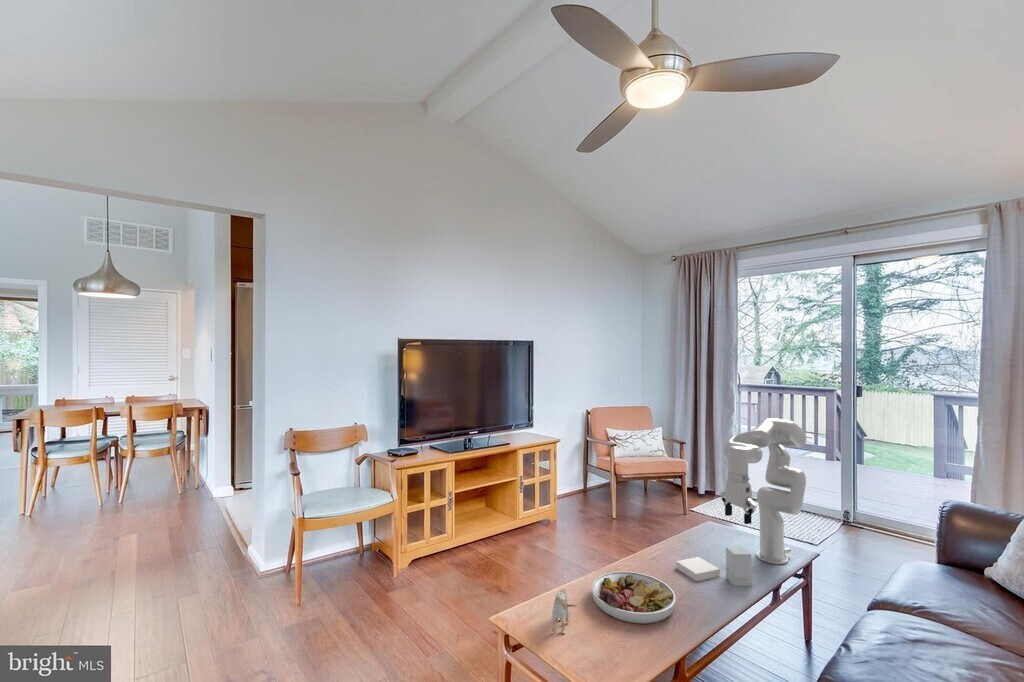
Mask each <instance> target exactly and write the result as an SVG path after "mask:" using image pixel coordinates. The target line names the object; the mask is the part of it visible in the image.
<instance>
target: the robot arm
mask: <svg viewBox="0 0 1024 682" xmlns="http://www.w3.org/2000/svg"><path fill="white" fill-rule="evenodd" d="M806 434H807V433H806V432H805V430H803V428H802V427H801V426H799V424H797V423H796V422H794V421H792V420H790V419H783V418H775V417H774V418H773V417H768V418H764V419H763V420H762V421H760V423H759V424H758V425H756V427H755V428H753V429H752V430H748V431H744V432H741V433H738V434H735V435H733V436H731V438H730V439H729V440H727V442H726V444H725V446H724V448H723V449H724V450H723V451H724V455H725V457H726V458H727V478H726V482H725V487H724V488H725V489H724V491H722V492H720V497H721V500H722V502H723V505H724V515H725V516H726V517H728V516H732V515H733V505H734V506H736V507H739V508H742V509H743V512H744V514H743V524H744V525H750V524H752V515H753V514H754V512H755V511H756V509H757V507H758V509H759V510H758V512H759V513H758V514H759V550H757V551H755V555H756V556H755V557H756V558H757V559H759V560H760V561H763V562H765V563H767V564H774V565H785V564H788V562H789V558H788V557H787V556H786V555H787V554H789V553H791V552H792V549H791V548H790V547H786V548H785V541H784V540H785V536H784V535H785V534H784V533H785V531H784V530H785V529H784V528H785V526H784V525H785V523H784V518H783V516H782V514H781V513H784V514H789V515H793V516H796V515H799V514H800V513H801V511H802V507H803V502H804V498H805V497H804V496H805V492H806V484H807V477H806V474H805V472H804V471H803V470H801V469H799V468H795V467H791V466H790V464H791V463H790V462H791V455H790V453H789V452H788V450H787V448H786V447H791V448H803V447H804V446H805V445H806V442H807V435H806ZM763 448H768V453H769V455H768V461H767V467H766V471H765V479H764V480H765V482H766V483H767V484H768V485H771V487H770V486H762V487H760V488H758V490H757V493H756V499H757V504H756V503H755V502H754V501H753V492H752V485H751V483H750V482H749V481H750V477H749V464H757V463H760V462H761V460H762V458H763V450H762V449H763ZM772 486H773V487H772ZM774 486H775V487H774ZM777 487H778V488H777ZM779 488H782V489H779ZM784 489H785V490H784ZM786 489H787V490H786ZM789 490H790V491H789Z"/></svg>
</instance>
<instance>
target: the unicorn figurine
mask: <svg viewBox="0 0 1024 682" xmlns="http://www.w3.org/2000/svg"><path fill="white" fill-rule="evenodd" d="M553 601H554V602H553V609H552V616H551V617H552V618H551V619H552V621H551V633H552V632H555V631H556V632H557V630H556V625H555V624H556V623H555V622H556V620H557V618H561V620H560V622H561V628H562V629H561V632H562V631H565V632H566V630H565V623H566V622H569V623H570V618H569V616H570V612H569V608H571V607H577V606H578V605H577V604H570V603H569V602H568V596H567V593H566V590H565V589H564V588H563V589H560V591H559V592H558V593H556V594H555V598H554V600H553ZM564 619H565V620H564ZM556 632H555V633H556Z"/></svg>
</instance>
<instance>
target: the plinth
mask: <svg viewBox="0 0 1024 682" xmlns="http://www.w3.org/2000/svg"><path fill="white" fill-rule="evenodd" d="M675 565H676V566H675V567H676V569H677V570H679V571H680V572H682V573H683V574H685V575H686V576H688V577H689V578H691V579H692V580H694V581H695V582H700V581H704V580H709V579H714V578H718V577H720V575H721V574H720V573H721V572H720V570H721V569H720V568H719V567H717V566H715V565H713V564H712V563H710V562H708V561H707V560H705V559H703V558H701V557H700V556H696V557H692V558H687V559H681V560H677V561H676V563H675Z"/></svg>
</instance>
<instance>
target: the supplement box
mask: <svg viewBox="0 0 1024 682" xmlns="http://www.w3.org/2000/svg"><path fill="white" fill-rule="evenodd" d="M752 575H753V574H752V554H751V552H749V551H748V550H747V549H745V547H743V546H726V547H725V578H726V579H727V580H728V581H729V582H730V584H732V585H733V586H734V587H752V585H753V583H752V582H753V579H752Z"/></svg>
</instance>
